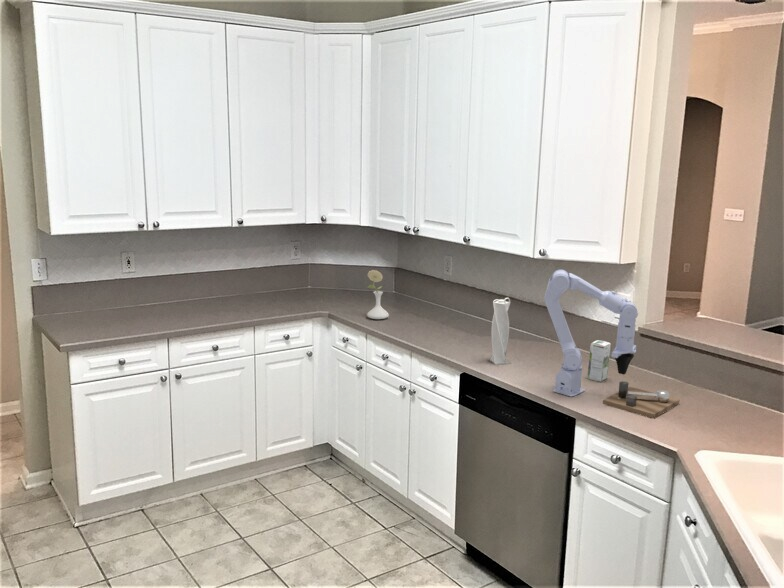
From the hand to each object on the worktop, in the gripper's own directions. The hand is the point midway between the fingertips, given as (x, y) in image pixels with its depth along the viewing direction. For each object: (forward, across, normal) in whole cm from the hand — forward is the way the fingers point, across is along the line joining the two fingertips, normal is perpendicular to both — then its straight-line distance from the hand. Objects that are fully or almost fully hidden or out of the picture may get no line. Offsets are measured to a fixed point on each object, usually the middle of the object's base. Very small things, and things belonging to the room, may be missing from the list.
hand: (621, 373), depth 237 cm
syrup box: (+9, +11, +15) cm, 20 cm away
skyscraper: (+9, 0, +53) cm, 53 cm away
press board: (+8, -2, -9) cm, 12 cm away
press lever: (+6, -1, -9) cm, 11 cm away
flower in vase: (+9, +14, +141) cm, 142 cm away
